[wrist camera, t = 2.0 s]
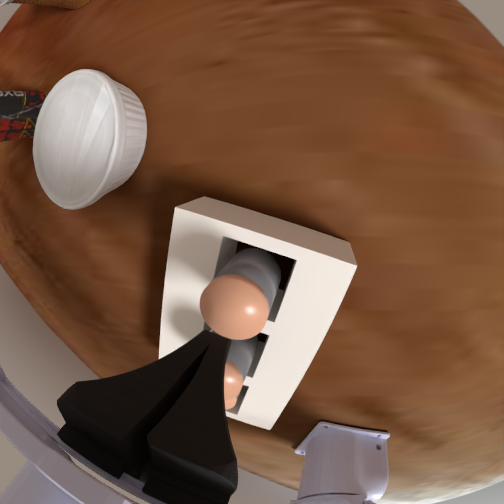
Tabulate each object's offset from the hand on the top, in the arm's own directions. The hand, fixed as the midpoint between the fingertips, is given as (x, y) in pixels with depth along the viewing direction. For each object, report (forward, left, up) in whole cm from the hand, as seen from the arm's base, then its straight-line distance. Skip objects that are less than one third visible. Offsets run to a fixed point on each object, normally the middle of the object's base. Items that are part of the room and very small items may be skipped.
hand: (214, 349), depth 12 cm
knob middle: (0, +4, -6) cm, 7 cm away
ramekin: (+16, -7, -10) cm, 20 cm away
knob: (0, -1, -6) cm, 6 cm away
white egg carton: (0, +4, -10) cm, 10 cm away
